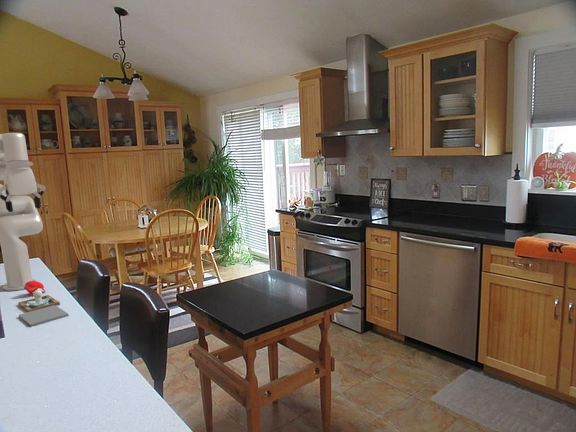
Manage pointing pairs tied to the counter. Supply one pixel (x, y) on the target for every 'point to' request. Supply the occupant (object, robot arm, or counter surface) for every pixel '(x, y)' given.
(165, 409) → the counter surface
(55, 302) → the pocket frame
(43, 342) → the counter surface
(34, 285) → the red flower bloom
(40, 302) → the pacifier
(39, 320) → the slate mat
